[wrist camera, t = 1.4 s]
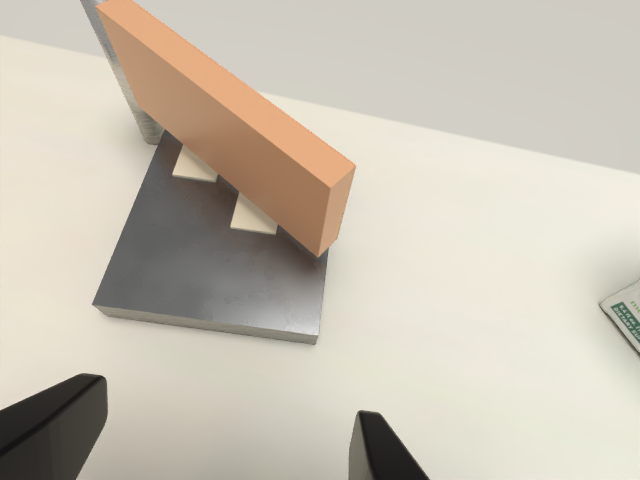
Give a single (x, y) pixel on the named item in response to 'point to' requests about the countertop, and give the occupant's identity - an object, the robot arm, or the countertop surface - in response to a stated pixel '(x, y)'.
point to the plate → (204, 247)
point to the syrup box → (626, 312)
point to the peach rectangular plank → (232, 127)
